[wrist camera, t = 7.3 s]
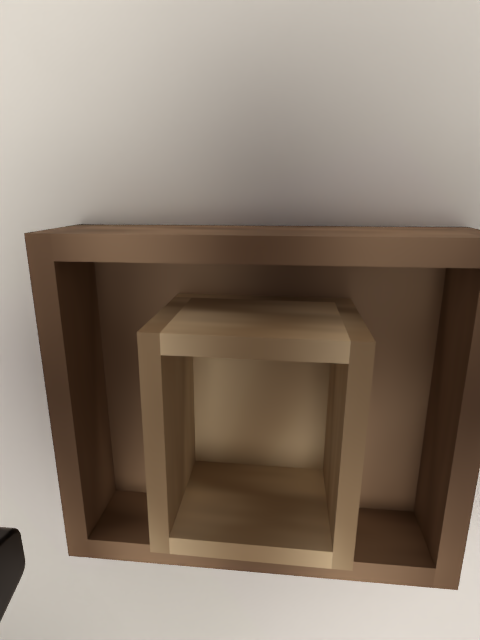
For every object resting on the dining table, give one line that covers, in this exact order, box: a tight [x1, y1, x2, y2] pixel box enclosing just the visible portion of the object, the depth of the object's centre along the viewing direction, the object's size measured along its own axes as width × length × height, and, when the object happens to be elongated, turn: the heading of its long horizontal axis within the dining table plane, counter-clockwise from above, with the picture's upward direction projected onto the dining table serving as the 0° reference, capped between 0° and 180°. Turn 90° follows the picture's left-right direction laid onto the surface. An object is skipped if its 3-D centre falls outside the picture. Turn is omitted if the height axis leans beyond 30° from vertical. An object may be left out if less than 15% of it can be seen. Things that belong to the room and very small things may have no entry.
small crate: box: [137, 293, 376, 571], centre depth 14 cm, size 6×7×4 cm
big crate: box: [24, 224, 480, 590], centre depth 15 cm, size 14×12×4 cm
